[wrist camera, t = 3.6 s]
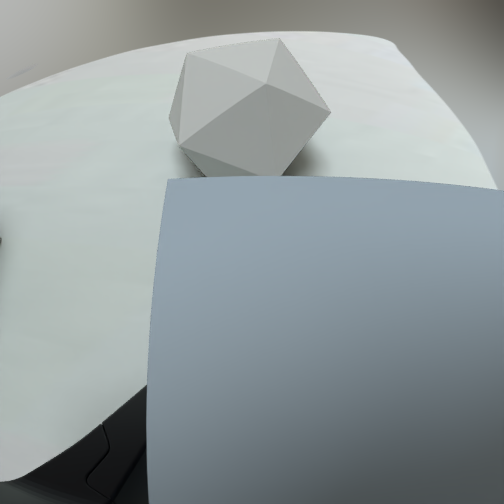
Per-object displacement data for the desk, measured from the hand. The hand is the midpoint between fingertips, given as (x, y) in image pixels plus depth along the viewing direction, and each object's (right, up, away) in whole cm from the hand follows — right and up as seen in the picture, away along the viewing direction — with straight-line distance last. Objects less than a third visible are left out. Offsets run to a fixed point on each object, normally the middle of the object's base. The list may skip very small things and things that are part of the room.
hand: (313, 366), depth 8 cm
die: (-2, +9, +12) cm, 15 cm away
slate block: (0, -4, +5) cm, 7 cm away
